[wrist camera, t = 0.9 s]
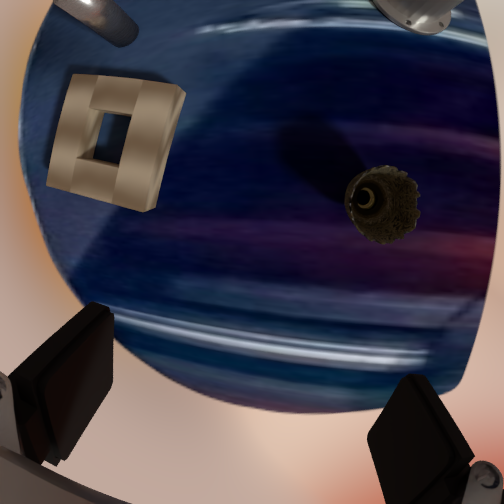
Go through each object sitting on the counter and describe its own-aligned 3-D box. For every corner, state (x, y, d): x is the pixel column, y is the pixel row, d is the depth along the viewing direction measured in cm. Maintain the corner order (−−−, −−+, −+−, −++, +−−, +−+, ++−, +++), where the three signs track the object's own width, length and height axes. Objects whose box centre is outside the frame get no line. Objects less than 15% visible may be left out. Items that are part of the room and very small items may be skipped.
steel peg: (117, 21, 30) (64, -25, 16) (143, 22, 30) (94, -30, 16) (107, 46, 31) (47, 7, 17) (132, 48, 31) (77, 3, 17)
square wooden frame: (88, 80, 32) (73, 73, 28) (186, 93, 32) (177, 85, 29) (63, 183, 35) (46, 185, 32) (155, 207, 36) (143, 212, 32)
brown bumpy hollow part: (389, 229, 36) (418, 245, 28) (331, 228, 36) (349, 244, 28) (392, 167, 34) (423, 168, 26) (333, 163, 34) (352, 162, 26)
